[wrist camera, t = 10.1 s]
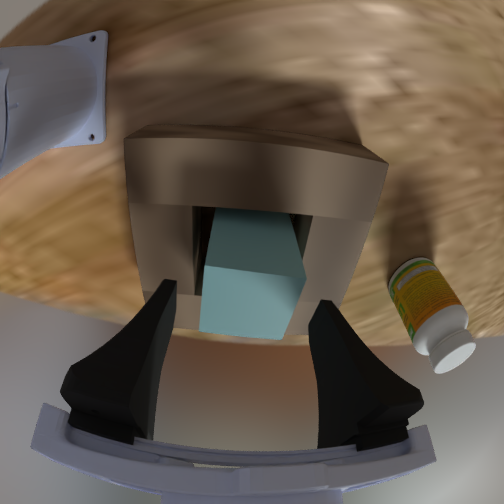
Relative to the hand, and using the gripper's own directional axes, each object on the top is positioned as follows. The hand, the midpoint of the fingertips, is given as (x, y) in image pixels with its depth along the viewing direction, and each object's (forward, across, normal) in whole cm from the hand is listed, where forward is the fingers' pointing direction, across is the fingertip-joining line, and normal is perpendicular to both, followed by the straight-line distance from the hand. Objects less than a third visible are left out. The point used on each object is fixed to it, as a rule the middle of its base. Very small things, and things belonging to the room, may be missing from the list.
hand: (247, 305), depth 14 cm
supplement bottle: (+8, -16, +2) cm, 18 cm away
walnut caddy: (+8, 0, 0) cm, 8 cm away
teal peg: (+8, 0, 0) cm, 8 cm away
